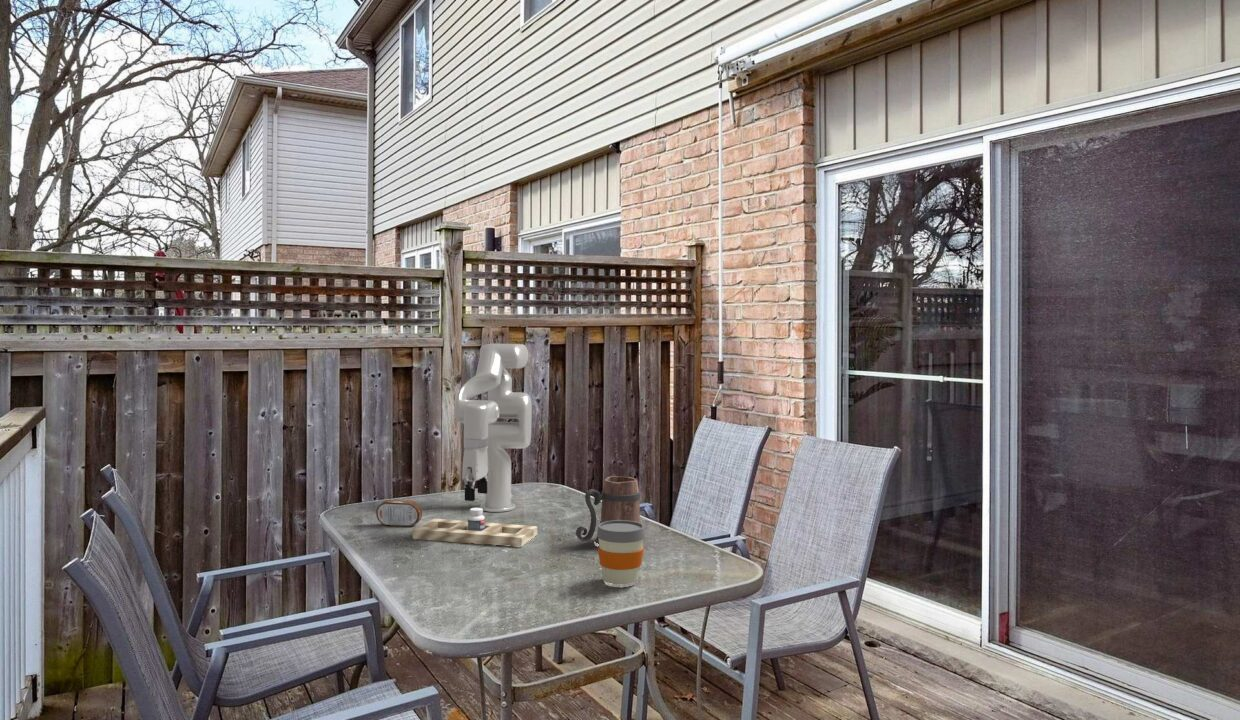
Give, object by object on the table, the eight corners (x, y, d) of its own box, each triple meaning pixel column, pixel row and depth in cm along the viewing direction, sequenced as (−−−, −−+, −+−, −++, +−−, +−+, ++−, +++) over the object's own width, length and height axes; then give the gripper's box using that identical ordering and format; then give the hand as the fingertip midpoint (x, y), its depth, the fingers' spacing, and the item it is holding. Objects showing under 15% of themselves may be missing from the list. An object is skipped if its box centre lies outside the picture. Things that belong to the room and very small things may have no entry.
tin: (422, 525, 261) (422, 500, 261) (419, 528, 258) (419, 502, 258) (378, 523, 263) (378, 498, 262) (374, 526, 259) (374, 501, 259)
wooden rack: (412, 538, 245) (412, 529, 245) (433, 527, 258) (433, 518, 258) (521, 547, 237) (521, 537, 236) (537, 535, 250) (537, 526, 250)
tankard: (629, 533, 255) (629, 472, 254) (657, 546, 240) (659, 481, 239) (564, 542, 243) (565, 478, 242) (590, 556, 228) (591, 488, 227)
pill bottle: (482, 539, 245) (482, 511, 245) (465, 538, 245) (466, 510, 245) (486, 534, 250) (486, 507, 250) (469, 534, 251) (470, 506, 250)
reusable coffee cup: (607, 592, 198) (608, 534, 197) (589, 577, 209) (590, 522, 208) (652, 586, 203) (653, 529, 202) (632, 572, 214) (633, 518, 214)
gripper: (476, 437, 256) (476, 489, 257) (453, 447, 239) (453, 502, 240) (497, 439, 254) (497, 491, 255) (476, 448, 237) (476, 504, 238)
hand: (476, 496), depth 248 cm, fingers open, 9 cm apart
